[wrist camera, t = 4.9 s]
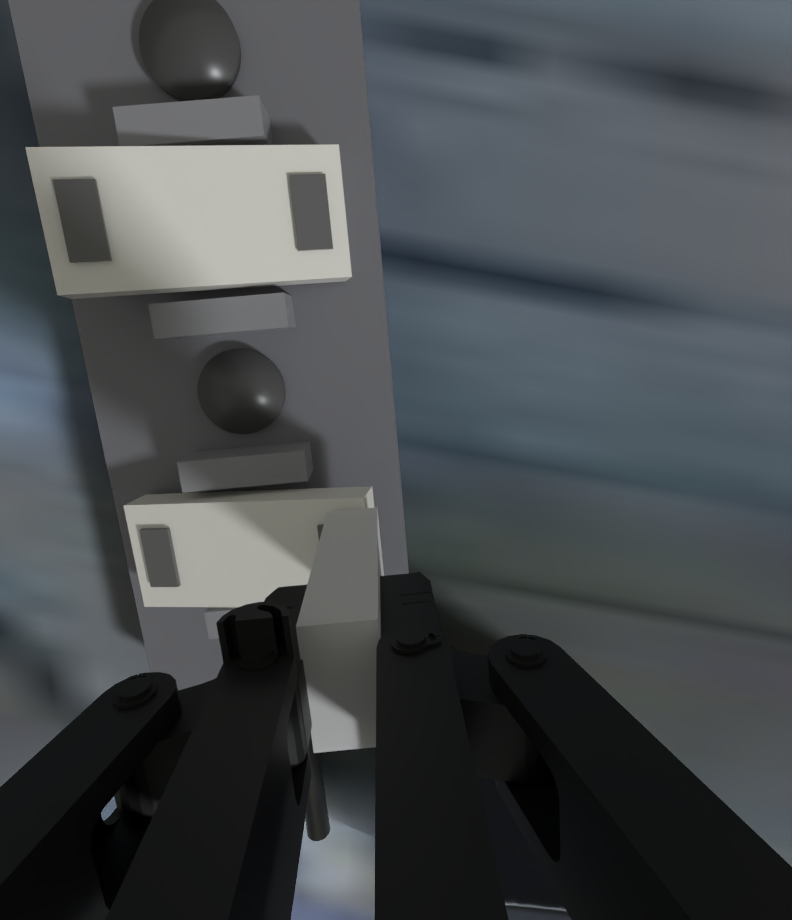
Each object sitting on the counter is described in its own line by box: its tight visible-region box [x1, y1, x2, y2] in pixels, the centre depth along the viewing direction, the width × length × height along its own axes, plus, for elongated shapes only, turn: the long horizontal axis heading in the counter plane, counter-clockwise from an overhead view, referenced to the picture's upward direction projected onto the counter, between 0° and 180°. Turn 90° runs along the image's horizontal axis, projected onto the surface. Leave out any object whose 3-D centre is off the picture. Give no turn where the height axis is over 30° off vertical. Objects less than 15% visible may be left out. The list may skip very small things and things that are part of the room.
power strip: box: [8, 0, 409, 841], centre depth 20 cm, size 10×32×5 cm, turn 5°
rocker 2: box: [123, 486, 374, 607], centre depth 18 cm, size 8×4×1 cm, turn 95°
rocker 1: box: [25, 144, 352, 299], centre depth 16 cm, size 8×4×1 cm, turn 95°
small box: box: [477, 776, 571, 920], centre depth 21 cm, size 11×6×10 cm, turn 171°
